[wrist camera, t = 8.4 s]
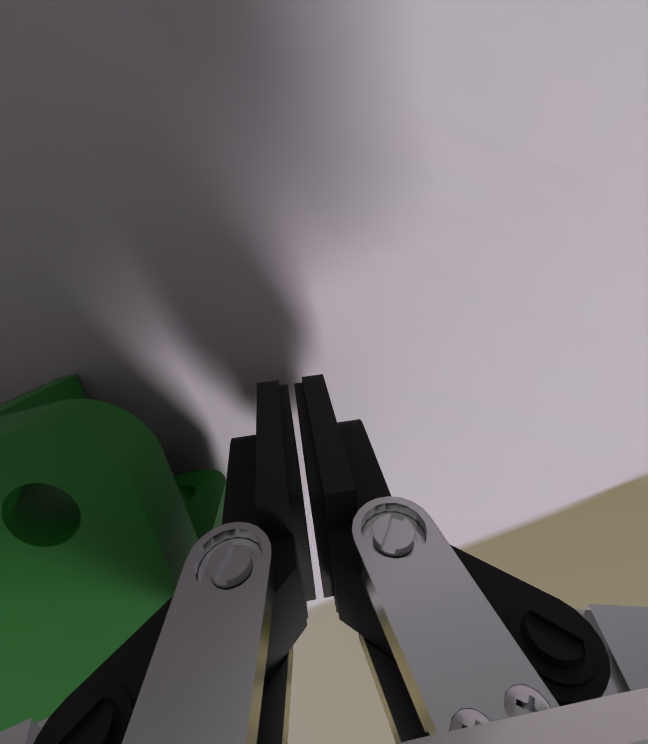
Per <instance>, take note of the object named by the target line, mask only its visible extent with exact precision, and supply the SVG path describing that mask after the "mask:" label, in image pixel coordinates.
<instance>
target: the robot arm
mask: <svg viewBox="0 0 648 744" xmlns="http://www.w3.org/2000/svg"><path fill="white" fill-rule="evenodd" d="M294 386H295V394H296V401H297V409H298V417H299V424H300V432H301V439H302V447H303V455H304V462H305V470H306V477H307V484H308V490H309V497H310V504H311V511H312V518H313V525H314V532H315V538H316V545H317V552H318V559H319V566H320V573H321V579H322V586H323V593H324V598H325V597H331V596H334V599H335V605H336V611H337V612H338V613H339V619H340V620H341V621H343V622H344V623H346V624H347V625H348V626H350V627H351V628H353V629H354V630H355V631H357V632H358V634H359V639H360V643H361V646H362V649H363V651H364V654H365V657H366V660H367V663H368V666H369V668H370V671H371V674H372V677H373V680H374V683H375V686H376V689H377V691H378V694H379V697H380V700H381V702H382V705H383V708H384V711H385V714H386V717H387V720H388V722H389V725H390V728H391V731H392V734H393V737H394V739H395V742H396V744H648V607H636V606H618V605H600V604H588V605H587V607H586V609H585V610H581V609H574V608H572V607H571V606H569V605H567V604H566V603H564V602H563V601H561V600H560V599H558V598H555V597H554V596H552V595H550V594H548V593H546V592H543V591H541V590H540V589H538V588H535V587H534V586H532V585H530V584H527V583H526V582H523V581H521V580H519V579H518V578H516V577H513V576H512V575H510V574H507V573H505V572H503V571H502V570H500V569H498V568H496V567H493V566H491V565H489V564H488V563H485V562H484V561H481V560H480V559H478V558H475V557H473V556H471V555H469V554H468V553H465V552H463V551H462V550H460V549H458V548H456V547H454V546H452V545H450V544H449V543H448V541H447V540H446V539H445V537H444V536H443V534H442V533H441V531H440V530H439V528H438V527H437V525H436V524H435V522H434V521H433V520H432V518H431V517H430V516H429V514H428V513H427V512H426V511H425V510H424V509H423V508H422V507H420V506H419V505H417V504H416V503H414V502H412V501H410V500H407V499H404V498H401V497H391V494H390V492H389V489H388V487H387V484H386V482H385V479H384V477H383V474H382V471H381V469H380V466H379V464H378V461H377V459H376V456H375V454H374V451H373V448H372V446H371V443H370V441H369V438H368V436H367V433H366V431H365V428H364V426H363V423H362V421H361V420H360V419H358V420H352V421H345V422H338V423H337V421H336V418H335V414H334V411H333V407H332V404H331V401H330V397H329V394H328V390H327V387H326V384H325V380H324V377H323V374H321V375H313V376H306V377H302V383H296V384H294ZM315 599H316V594H315V586H314V579H313V571H312V563H311V555H310V547H309V539H308V531H307V523H306V516H305V508H304V500H303V492H302V484H301V476H300V469H299V461H298V454H297V447H296V440H295V433H294V426H293V419H292V412H291V405H290V398H289V391H288V385H281V386H280V385H279V380H277V381H270V382H262V383H257V416H256V435H251V436H244V437H238V438H232V439H231V443H230V452H229V461H228V470H227V480H226V489H225V498H224V507H223V516H222V525H221V526H219V527H216V528H214V529H212V530H211V531H209V532H208V533H206V534H205V535H204V536H202V537H201V538H200V539H199V540H198V542H197V543H196V544H195V545H194V546H193V547H192V549H191V551H190V553H189V555H188V557H187V559H186V561H185V564H184V567H183V569H182V572H181V575H180V578H179V581H178V584H177V587H176V590H175V592H174V595H173V596H172V597H171V598H170V599H169V600H168V601H167V602H166V603H165V604H164V605H163V606H162V607H161V608H160V609H159V610H158V611H157V612H155V613H154V614H153V615H152V616H151V617H150V618H149V619H148V620H147V621H146V622H145V623H144V624H143V625H142V626H141V627H140V628H139V629H138V630H137V631H136V632H135V633H134V634H133V635H131V636H130V637H129V638H128V639H127V640H126V641H125V642H124V643H123V644H122V645H121V646H120V647H119V648H118V649H117V650H116V651H115V652H114V653H113V654H112V655H111V656H110V657H109V658H107V659H106V660H105V661H104V662H103V663H102V664H101V665H100V666H99V667H98V668H97V669H96V670H95V671H94V672H93V673H92V674H91V675H90V676H89V677H88V678H87V679H86V680H85V681H84V682H82V683H81V684H80V685H79V686H78V687H77V688H76V689H75V690H74V691H73V692H72V693H71V694H70V695H69V696H68V697H67V698H66V699H65V700H64V701H63V702H62V703H61V704H60V705H59V707H58V708H57V709H56V710H55V711H54V712H53V713H52V715H51V716H50V717H48V718H46V719H44V720H42V721H40V722H37V723H36V722H35V721H34V720H33V719H32V718H30V719H28V720H25V721H23V722H21V723H19V724H17V725H14V726H12V727H10V728H8V729H5V730H3V731H1V732H0V744H288V729H289V714H290V698H291V684H292V669H293V644H294V643H295V642H296V640H297V639H298V638H299V636H300V635H301V633H302V632H303V631H304V629H305V628H306V626H307V620H306V618H308V613H307V603H306V601H310V600H315Z"/></svg>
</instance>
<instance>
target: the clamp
mask: <svg viewBox="0 0 648 744" xmlns="http://www.w3.org/2000/svg"><path fill="white" fill-rule="evenodd" d="M225 489H226V478H225V476H224V475H223V474H222V473H221V472H219V471H216V470H210V469H204V470H196V471H191V472H187V473H183V474H179V475H176V476H173V474H172V471H171V469H170V466H169V464H168V461H167V459H166V456H165V454H164V451H163V449H162V447H161V444H160V442H159V441H158V439H157V437H156V436H155V435H154V433H153V432H152V431H151V430H150V428H149V427H148V426H147V425H146V424H145V423H144V422H142V421H141V420H140V419H139V418H138V417H136V416H135V415H133V414H132V413H130V412H128V411H127V410H125V409H123V408H121V407H119V406H116V405H113V404H111V403H107V402H104V401H99V400H93V399H87V398H86V396H85V394H84V392H83V389H82V387H81V385H80V382H79V380H78V378H77V376H76V374H75V375H71V376H67V377H63V378H60V379H56V380H53V381H51V382H49V383H47V384H44V385H42V386H40V387H38V388H36V389H34V390H32V391H29V392H27V393H25V394H23V395H21V396H19V397H17V398H15V399H12V400H10V401H8V402H6V403H4V404H2V405H0V732H1V731H3V730H5V729H8V728H10V727H12V726H14V725H17V724H19V723H21V722H23V721H25V720H28V719H30V718H32V719H33V720H34V721H35V722H36V723H37V722H40V721H42V720H44V719H46V718H48V717H50V716H51V715H52V713H53V712H54V711H55V710H56V709H57V708H58V707H59V705H60V704H61V703H62V702H63V701H64V700H65V699H66V698H67V697H68V696H69V695H70V694H71V693H72V692H73V691H74V690H75V689H76V688H77V687H78V686H79V685H80V684H81V683H82V682H84V681H85V680H86V679H87V678H88V677H89V676H90V675H91V674H92V673H93V672H94V671H95V670H96V669H97V668H98V667H99V666H100V665H101V664H102V663H103V662H104V661H105V660H106V659H107V658H109V657H110V656H111V655H112V654H113V653H114V652H115V651H116V650H117V649H118V648H119V647H120V646H121V645H122V644H123V643H124V642H125V641H126V640H127V639H128V638H129V637H130V636H131V635H133V634H134V633H135V632H136V631H137V630H138V629H139V628H140V627H141V626H142V625H143V624H144V623H145V622H146V621H147V620H148V619H149V618H150V617H151V616H152V615H153V614H154V613H155V612H157V611H158V610H159V609H160V608H161V607H162V606H163V605H164V604H165V603H166V602H167V601H168V600H169V599H170V598H171V597H172V596H173V595H174V592H175V590H176V587H177V584H178V581H179V578H180V575H181V572H182V569H183V567H184V564H185V561H186V559H187V557H188V555H189V553H190V551H191V549H192V547H193V546H194V545H195V544H196V543H197V542H198V540H199V539H200V538H201V537H202V536H204V535H205V534H206V533H208V532H209V531H211V530H212V529H214V528H216V527H219V526H221V525H222V516H223V507H224V498H225Z"/></svg>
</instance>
